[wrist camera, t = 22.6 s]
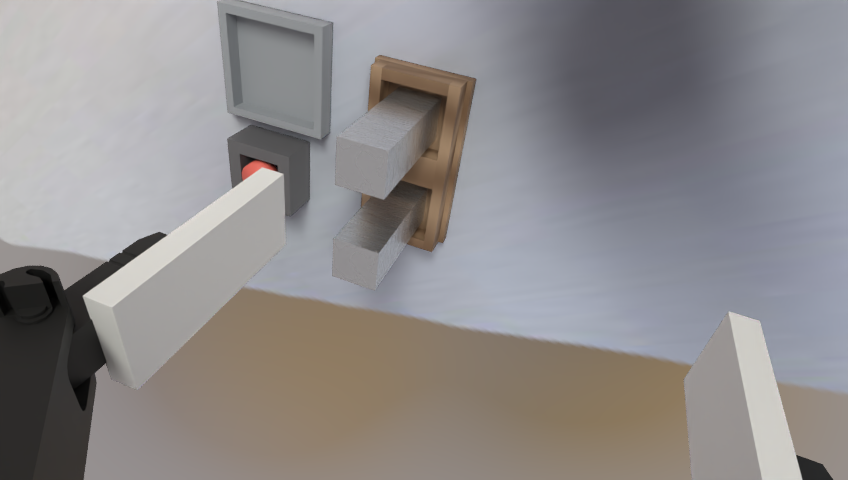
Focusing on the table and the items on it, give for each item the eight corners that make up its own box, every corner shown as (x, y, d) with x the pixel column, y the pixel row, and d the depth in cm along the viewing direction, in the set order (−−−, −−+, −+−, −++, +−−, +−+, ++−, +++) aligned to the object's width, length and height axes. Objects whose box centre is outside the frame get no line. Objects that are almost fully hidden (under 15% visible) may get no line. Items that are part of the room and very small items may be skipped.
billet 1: (399, 86, 46) (336, 136, 37) (441, 97, 46) (388, 150, 36) (394, 128, 49) (335, 184, 39) (435, 139, 48) (383, 199, 39)
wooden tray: (379, 55, 47) (365, 63, 44) (476, 78, 45) (466, 89, 42) (367, 213, 56) (355, 227, 54) (445, 238, 55) (436, 253, 52)
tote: (230, -2, 48) (217, 1, 47) (333, 22, 46) (322, 26, 45) (239, 106, 55) (227, 112, 53) (330, 132, 53) (320, 139, 51)
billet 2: (390, 175, 52) (333, 238, 42) (428, 186, 51) (378, 253, 41) (386, 209, 54) (332, 275, 45) (422, 220, 53) (375, 290, 44)
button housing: (250, 124, 55) (227, 138, 52) (309, 141, 54) (288, 157, 51) (254, 181, 60) (233, 197, 56) (309, 199, 58) (290, 216, 55)
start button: (249, 154, 54) (240, 160, 53) (280, 163, 53) (271, 169, 52) (251, 184, 56) (243, 190, 55) (281, 193, 55) (273, 200, 54)
